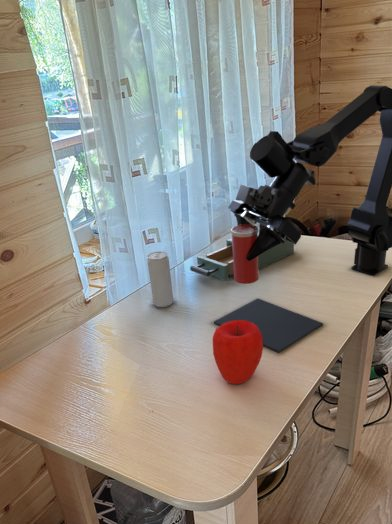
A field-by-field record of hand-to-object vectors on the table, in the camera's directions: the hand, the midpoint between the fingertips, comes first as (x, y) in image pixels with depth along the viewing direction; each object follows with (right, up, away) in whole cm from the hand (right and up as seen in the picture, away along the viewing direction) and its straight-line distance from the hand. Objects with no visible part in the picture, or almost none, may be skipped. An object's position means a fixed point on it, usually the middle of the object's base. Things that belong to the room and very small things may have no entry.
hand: (239, 255), depth 106 cm
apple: (-1, -25, -13) cm, 28 cm away
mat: (+6, -14, +2) cm, 15 cm away
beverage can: (-17, -9, +14) cm, 24 cm away
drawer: (-2, +1, +26) cm, 26 cm away
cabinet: (+9, +6, +34) cm, 35 cm away
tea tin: (+2, -4, +3) cm, 6 cm away
